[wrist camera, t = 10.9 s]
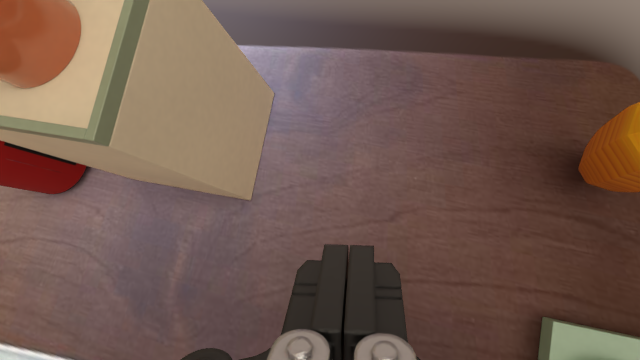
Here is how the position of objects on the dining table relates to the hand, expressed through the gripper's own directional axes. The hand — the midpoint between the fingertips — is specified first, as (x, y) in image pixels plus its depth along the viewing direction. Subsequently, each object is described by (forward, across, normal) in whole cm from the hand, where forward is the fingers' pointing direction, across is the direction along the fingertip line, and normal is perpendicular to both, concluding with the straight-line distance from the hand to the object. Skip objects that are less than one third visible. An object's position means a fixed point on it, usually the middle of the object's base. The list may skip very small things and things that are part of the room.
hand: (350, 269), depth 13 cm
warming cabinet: (+24, -15, -4) cm, 29 cm away
